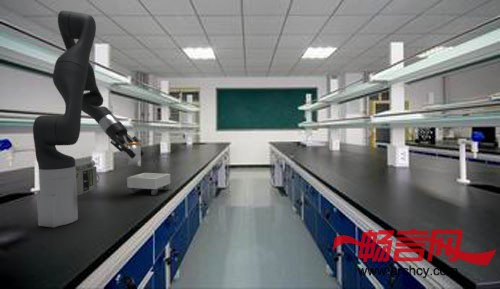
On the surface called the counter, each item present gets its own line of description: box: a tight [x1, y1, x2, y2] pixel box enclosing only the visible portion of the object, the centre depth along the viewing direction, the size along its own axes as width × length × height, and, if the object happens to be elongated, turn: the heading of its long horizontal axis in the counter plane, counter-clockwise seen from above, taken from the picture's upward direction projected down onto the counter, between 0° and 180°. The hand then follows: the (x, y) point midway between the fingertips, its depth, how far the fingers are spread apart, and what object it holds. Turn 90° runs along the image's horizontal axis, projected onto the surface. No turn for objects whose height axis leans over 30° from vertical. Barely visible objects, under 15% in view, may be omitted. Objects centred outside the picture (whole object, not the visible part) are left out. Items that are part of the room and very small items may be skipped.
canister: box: [127, 141, 142, 168], centre depth 112 cm, size 5×5×10 cm
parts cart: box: [126, 172, 171, 196], centre depth 120 cm, size 12×14×8 cm
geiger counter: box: [75, 159, 100, 197], centre depth 121 cm, size 14×6×25 cm
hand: (138, 156), depth 111 cm, fingers closed on canister, 5 cm apart
